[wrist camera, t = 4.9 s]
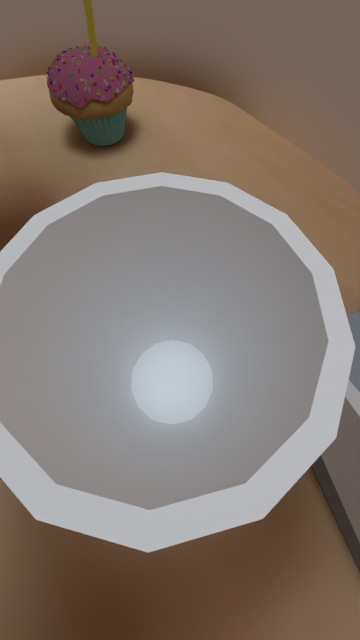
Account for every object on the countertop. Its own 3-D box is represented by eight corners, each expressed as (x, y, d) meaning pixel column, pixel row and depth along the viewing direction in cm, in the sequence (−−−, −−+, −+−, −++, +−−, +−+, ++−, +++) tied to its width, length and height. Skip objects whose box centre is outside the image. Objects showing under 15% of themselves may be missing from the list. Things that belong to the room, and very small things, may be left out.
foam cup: (204, 479, 16) (283, 683, 4) (84, 413, 17) (-140, 403, 5) (252, 350, 19) (379, 232, 7) (147, 304, 20) (101, 141, 8)
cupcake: (145, 115, 30) (125, -61, 19) (132, 161, 27) (99, -18, 16) (78, 110, 31) (21, -65, 20) (58, 155, 27) (-26, -24, 16)
